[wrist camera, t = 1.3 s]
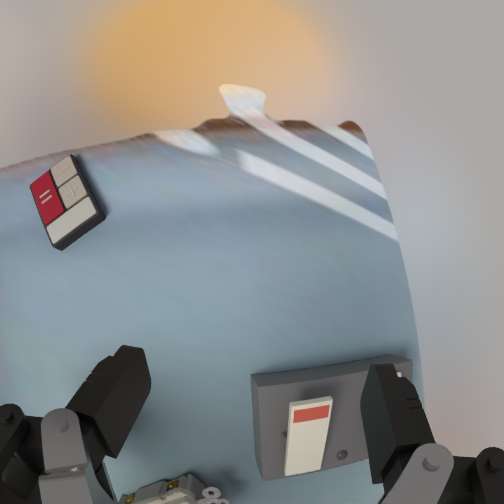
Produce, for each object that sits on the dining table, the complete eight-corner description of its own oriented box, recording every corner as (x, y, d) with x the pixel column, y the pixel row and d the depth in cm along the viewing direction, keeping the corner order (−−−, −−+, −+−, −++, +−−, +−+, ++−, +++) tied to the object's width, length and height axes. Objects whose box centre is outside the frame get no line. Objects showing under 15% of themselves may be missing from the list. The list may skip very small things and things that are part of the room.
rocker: (284, 472, 42) (285, 476, 41) (289, 402, 39) (291, 406, 38) (318, 465, 43) (320, 469, 42) (330, 395, 40) (333, 400, 39)
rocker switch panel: (255, 459, 49) (265, 487, 39) (250, 374, 52) (260, 391, 42) (386, 432, 53) (412, 449, 43) (389, 354, 56) (419, 361, 46)
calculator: (70, 151, 50) (98, 212, 48) (78, 160, 54) (106, 219, 52) (27, 183, 47) (50, 247, 46) (36, 191, 52) (61, 252, 50)
